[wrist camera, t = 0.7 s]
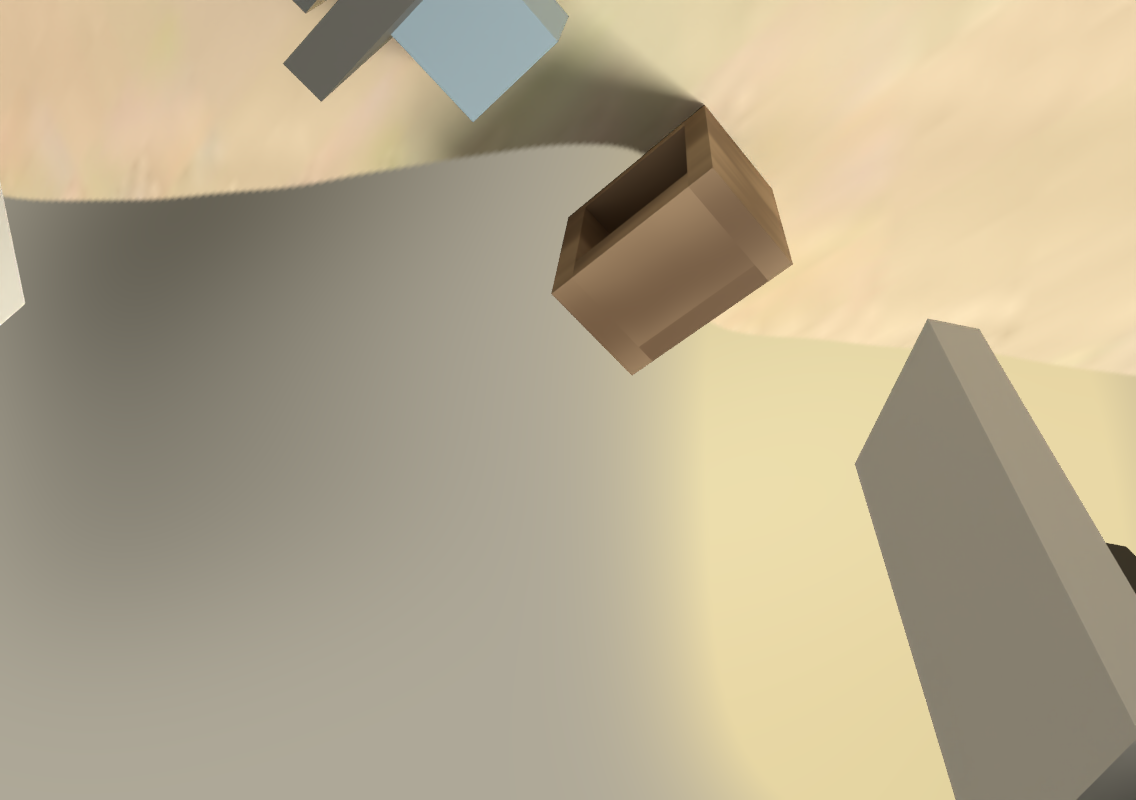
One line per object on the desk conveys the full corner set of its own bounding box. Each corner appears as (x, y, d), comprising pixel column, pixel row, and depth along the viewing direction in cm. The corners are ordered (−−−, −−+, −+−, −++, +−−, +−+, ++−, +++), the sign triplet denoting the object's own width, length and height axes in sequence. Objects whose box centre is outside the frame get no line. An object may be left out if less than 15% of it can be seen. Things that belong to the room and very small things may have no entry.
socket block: (568, 217, 38) (551, 293, 32) (704, 105, 34) (712, 167, 29) (636, 290, 39) (632, 375, 33) (772, 189, 36) (792, 264, 30)
